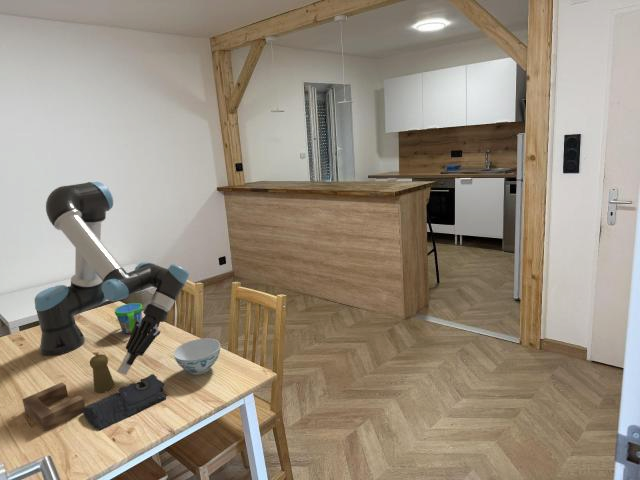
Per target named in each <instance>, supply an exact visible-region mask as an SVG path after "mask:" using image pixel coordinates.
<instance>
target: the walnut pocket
mask: <svg viewBox="0 0 640 480" xmlns="http://www.w3.org/2000/svg"><path fill="white" fill-rule="evenodd" d="M68 392H69V391H68V389H67V385H66V384H65V383H64V382H59V383H57V384H55V385H52V386H50V387H48V388H46V389H43V390H41V391H39V392H36V393H34V394H32V395H28V396H27V397H24V398H22V399H21V400H22V403H23V407H24V411H25V413H27V415H29V417H30V418H31V419H32V420H33V421H34V422H35V423H36V424H37V425H38V427H40V428H41V429H42V430H43V431H44V432H46V431H48V430H50V429H52V428H55V427H56V426H58V425H60V424H62V423H64V422H66V421H68V420H70V419H72V418H74V417H76V416H78V415H80V414H83V410H84V407H85V406H86V405H85V400H84V398H83V397H82V396H81V395H76V396H75V397H73V398H70V399H68V400H66V401H64V402H61V403H60V404H57V405H55V406H53V407H51V408H49V406H51V405H53V404H56V403H57V402H59V401H62V400H64V399H66V398H68V397H69V394H68Z"/></svg>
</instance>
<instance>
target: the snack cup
mask: <svg viewBox="0 0 640 480" xmlns="http://www.w3.org/2000/svg"><path fill="white" fill-rule="evenodd" d="M142 310H143V305H142V303H138V302H132V303H131V302H130V303H125V304H123V305H120V306H117V307H116V308H115V309H114V315H115V316H116V318H117V321H118V323H119V326H120V328H121V331H122V333H124V334H130V335H131V334H132V331H133V329H134V325H135V322H136V321H138V322H140V321H141V320H142V319H143V311H142Z"/></svg>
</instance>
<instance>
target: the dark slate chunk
mask: <svg viewBox="0 0 640 480" xmlns="http://www.w3.org/2000/svg"><path fill="white" fill-rule="evenodd" d="M164 386H165V383H164V382H163V381H162V380H160V379H158V377H157V376H156V375H155V374H153V373H151V374H149V375H148V376H146V377H144V378H141V379H140V381H138V382H136V383H135V382H132V383H130V384H128V385H126V386H122V387H119V389H118V391H117V392H115V393H112V394H110V395H108V396H105V397H104V398H101V399H100V400H98V401H95V402H92V403H89V404H88V405H85V407H84V410H83V412H82V414H83V415H84V418H85V419H87V421H88V423H89V425H91V426H92V427H93V429H96V430H99V431H102V430H104V429H107V428H109V427H110V426H113V425H114V424H118V423H120V422H122V421H124V420H127V419H128V418H131V417H132V416H133V417H134V416H136V415H137V414H139V413H141V412H143V411H145V410H147V409H149V408H151V407H154V406H155V405H158V404H160V403H162V402H164V401H166V400H167V397H168V396H169V394H167V393H166V392H164Z"/></svg>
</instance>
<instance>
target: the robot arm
mask: <svg viewBox="0 0 640 480" xmlns="http://www.w3.org/2000/svg"><path fill="white" fill-rule="evenodd" d="M113 207H114V197H113V195H112V193H111V191H110V190H109V188H108V187H107V185H105V184H104V183H102V182H99V181H88V182H84V183H82V182H81V183H76V184H71V185H62V186H59V187H56V188H55V189H54V190H52V191H51V192H50V193H49V194H48V196H47V198H46V202H45V212H46V216H47V218H48V220H49V222H50V224H51V225H52V226H53V227H54V229H56V230H58V231H61V232H62V233H63V235H65V237H66V238H67V240H68V241H69V242H71V244H72V246H74V247H75V261H74V263H75V266H74V267H75V268H74V269H75V271H74V274H73V275H72V276H71V278H70V285H69V286H67V285H65V284H64V285H63V284H58V285H55V286H51V287H47V288H46V289H44V290H42V291H40V292H38V293H37V294H36V296H35V297H34V306H35V307H34V309H35V310H36V315H37V319H38V323H39V326H40V331H41V338H40V345H39V350H40V354H41V355H44V356H55V355H57V356H58V355H61V354H65V353H69V352H72V351H73V350H76V349H78V348H80V347H81V346H82V345H83V344H84V343H85V336H84V334H83V332H82V331H81V329H80V328H79V326H78V325H77V323H76V318H75V316H77V315H79V314H81V313H83V312H86V311H88V310H91V309H93V308H97V307H99V306H100V305H102V304H103V303H105V302H107V301H109V302H118V301H120V300H121V301H122V300H124V299H126V298H128V297H130V296H132V295H135V294H136V293H139V292H143V291H144V290H146V289H149V288H151V287H152V288H155V289H156V290H155V291H154V293H153V294H152V296H151V298H150V299H149V303H148V304H147V305H146V307H145V309H144V310H143V311H142V314H144V317H142V320H141V321H140V322H138V321H136V322H135V325H134V329H133V331H132V333H130V335H129V338H128V341H127V343H126V345H125V350H126V354H125V356H124V357H123V359H122V362H121V364H120V365H119V367H118V368H117V372H118V373H120V374H122V375H124V376H127V374H128V373H129V370H130V369H131V367H132V365H133V364H134V363H135V360H136V358H137V357H142V356H143V355H144V354H145V353H146V351H147V350H148V348H149V347H150V346H151V344H152V343H153V342H154V341H155V339H156V338H157V337H158V336H159V335H160V334H161V330H159V326H160V323H164V322H165V321H166V318H168V315H169V313H168V312H170V311H171V309H172V308H173V306H174V304H175V302H176V301H177V299H178V297H179V295H180V293H181V291H182V290H183V288H184V287H185V285H186V282H187V281H188V279H189V276H190V274H189V271H187V269H185V268H183V267H181V266H179V265H177V264H172V263H171V264H170V265H169V267H168V268H165V267H163V266H159V265H158V264H155V263H152V262H147V261H143V262H140V263H139V264H138V265H137V266H135V268H134V270H132V271H130V272H127V271H126V270H125V269H124V268H123V266H122V265H121V264H120V263H119V261H118V260H117V258H115V257H114V255H113V254H112V253H111V252H110V251H109V250H108V248H107V247H106V246H105V244H104V243H103V242H102V241H101V237H102V236H101V233H102V232H101V231H102V230H101V229H102V223H103V222H105V220H106V216H107V212H108V211H109V212H110V210H112V208H113Z"/></svg>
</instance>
